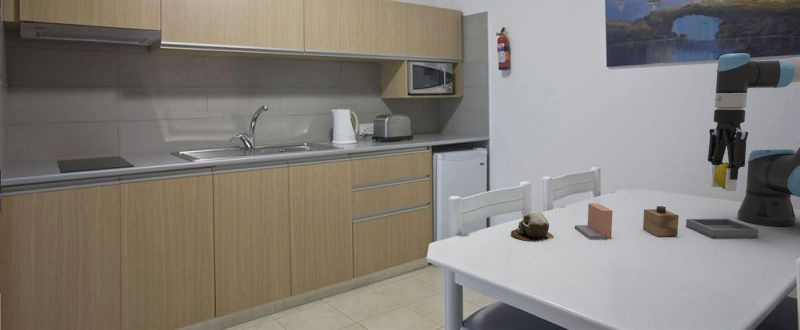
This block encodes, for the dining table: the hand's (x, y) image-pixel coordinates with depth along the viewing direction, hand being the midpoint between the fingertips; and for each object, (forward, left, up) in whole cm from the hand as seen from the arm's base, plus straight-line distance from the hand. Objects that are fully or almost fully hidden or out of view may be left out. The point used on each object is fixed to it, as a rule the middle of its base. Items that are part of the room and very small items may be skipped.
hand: (723, 188), depth 148 cm
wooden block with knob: (+18, 0, -13) cm, 22 cm away
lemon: (0, 0, 0) cm, 1 cm away
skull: (+56, +2, -14) cm, 58 cm away
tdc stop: (+38, 0, -13) cm, 40 cm away
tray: (0, 0, -13) cm, 13 cm away
